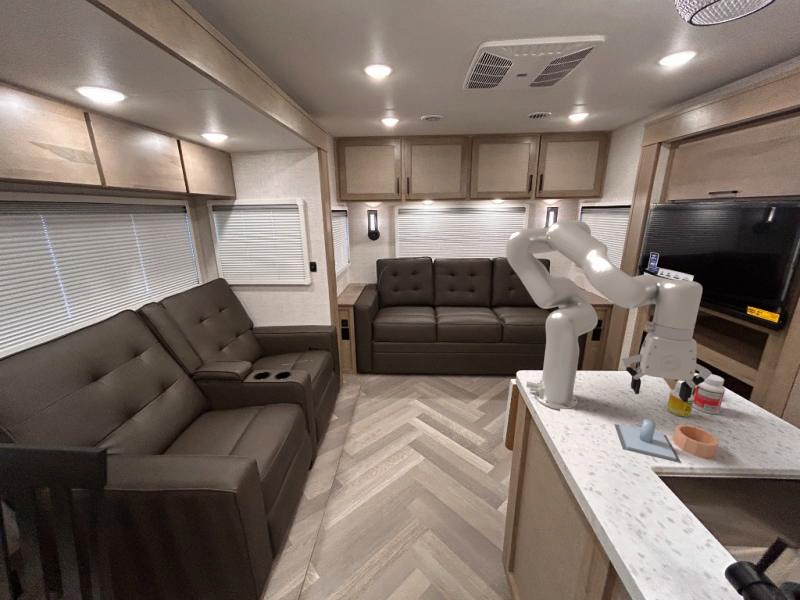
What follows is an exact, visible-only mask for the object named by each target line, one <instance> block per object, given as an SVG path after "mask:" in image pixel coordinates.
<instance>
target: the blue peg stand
mask: <svg viewBox="0 0 800 600" xmlns="http://www.w3.org/2000/svg"><path fill="white" fill-rule="evenodd" d="M618 425H619V428H620V431H621V434H622V436H623V439H624V442H625V445H626V447H627V449H629V450H633V451H638V452H642V453H646V454H650V455H654V456H659V457H663V458H667V459H671V460H675V461H676V457H675V455H674V453H673V451H672V449H671V447H670V446H669V444H668V442H667V440H666V438H665V437H664V435H665V434H664V433H663V432H659V431H656V425H657V424H656V422H655V420H652V419H649V418H643V420H642V425H641V427H635V426H631V425H627V424H622V423H621V424H620V423H619V424H618Z"/></svg>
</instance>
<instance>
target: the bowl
mask: <svg viewBox="0 0 800 600" xmlns="http://www.w3.org/2000/svg"><path fill="white" fill-rule="evenodd" d="M672 442H673V444H674V445H675V446H677V447H678V448H679V449H680V450H681V451H683V452H685V453H688V454H690V455H691V456H695V457H700V458H704V459H711V458H714V457H715V455H716V453H717V449H718V447H719V443H720V441H719V439H718V438H717V437H716V436H715V435H714V434H712V433H711V432H709V431H707V430H705V429H703V428H701V427H699V426H695V425H690V424H683V423H682V424H677V425H676V427H675V429H674V432H673V436H672Z"/></svg>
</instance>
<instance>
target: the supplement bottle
mask: <svg viewBox="0 0 800 600" xmlns="http://www.w3.org/2000/svg"><path fill="white" fill-rule="evenodd" d="M680 387H681V383H677V384H676V385H675V389H673V390H671V391H670V393H669V398H668V401H667V405H666V411H667V412H669V414H671V415H674V416H676V417H679V418H689V417H690V415H691V413H692V409H693V401H694V396H693V395H692V393H693V389H692V393H691V397H690V398H688V402H684V401H682V399H681V398H680V397H679V392H680Z"/></svg>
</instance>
